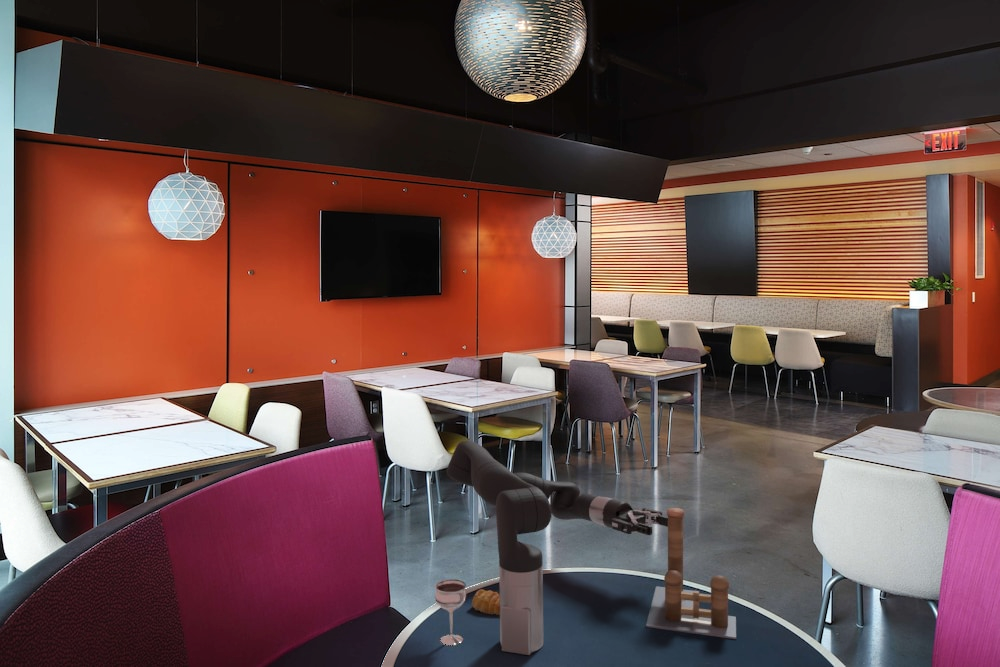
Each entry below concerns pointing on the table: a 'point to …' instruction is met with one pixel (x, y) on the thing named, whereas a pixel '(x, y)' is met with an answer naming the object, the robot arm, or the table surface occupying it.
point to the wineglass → (450, 604)
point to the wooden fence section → (675, 540)
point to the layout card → (686, 619)
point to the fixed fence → (696, 600)
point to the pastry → (487, 602)
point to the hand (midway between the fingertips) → (661, 527)
